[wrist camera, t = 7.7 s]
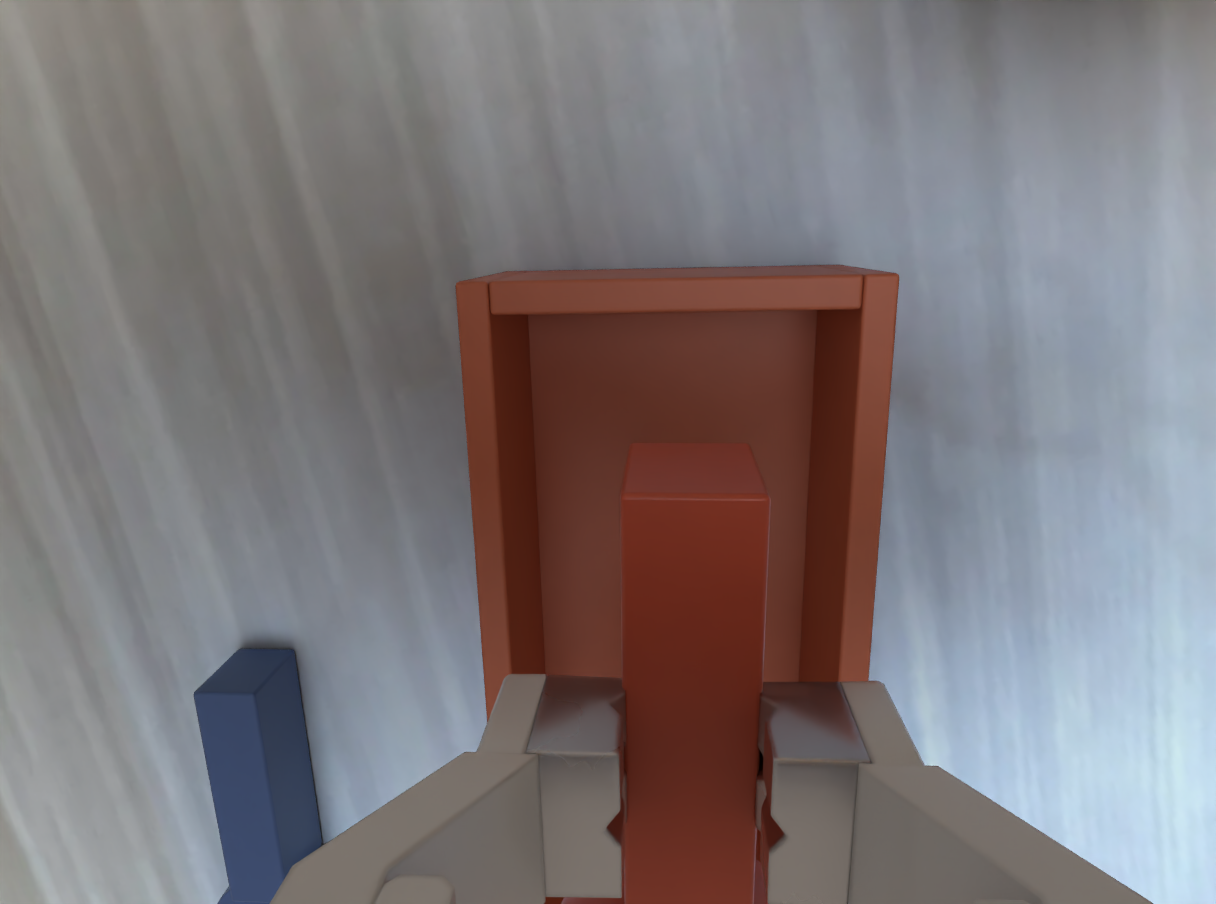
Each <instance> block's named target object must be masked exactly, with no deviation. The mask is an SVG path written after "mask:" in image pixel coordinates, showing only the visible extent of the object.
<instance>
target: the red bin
mask: <svg viewBox="0 0 1216 904" xmlns="http://www.w3.org/2000/svg"><path fill="white" fill-rule="evenodd" d="M898 287H899V275H898V274H896V273H890V272H884V271H877V270H870V269H864V268H857V267H850V266H844V265H802V266H751V267H701V268H651V269H600V270H550V271H506V272H502V273H497V274H492V275H488V276H483V277H478V278H473V279H469V280H464V281H459V282H457V283H456V299H457V313H458V327H459V340H460V354H461V368H462V382H463V395H464V409H465V423H466V437H467V450H468V464H469V478H470V491H471V505H472V519H473V533H474V546H475V560H476V574H477V588H478V601H479V615H480V629H481V643H482V656H483V670H484V684H485V698H486V711H487V723H488V720H489V717H490V715H491V712H492V709H493V707H494V704H495V701H496V699H497V696H498V693H499V691H500V688H501V685H502V683H503V680H504V678H505V677H506V676H507V675H509V674H546V675H547V676H549V675H568V676H591V677H615V678H622V654H621V571H620V493H621V488H622V483H623V477H624V472H625V466H626V461H627V456H628V450H629V447H630V444H633V443H746V444H748V445H749V446H750V448H751V451H752V453H753V456H754V458H755V461H756V464H757V466H758V469H759V471H760V474H761V476H762V479H763V481H764V484H765V486H766V489H767V491H768V494H769V496H770V499H771V506H770V530H769V553H768V577H767V600H766V623H765V647H764V670H763V682H849V681H868V678H869V665H870V652H871V639H872V626H873V613H874V600H875V587H876V574H877V561H878V548H879V535H880V522H881V509H882V496H883V483H884V470H885V457H886V444H887V431H888V418H889V405H890V391H891V378H892V365H893V352H894V339H895V326H896V313H897V300H898ZM760 839H761V832H760V831H759V830H758V829H757V834H756V858H755V859H756V860H758V861H759V862H761V860H760ZM563 899H564V897H545V900H546V902H545V903H544V904H561V903H562V901H563Z"/></svg>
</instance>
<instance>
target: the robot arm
mask: <svg viewBox="0 0 1216 904" xmlns="http://www.w3.org/2000/svg"><path fill="white" fill-rule="evenodd" d="M625 744H626V701H625V690H624V689H623V688H622V678H615V677H591V676H568V675H549V676H547V675H546V674H509V675H507V676H506V677H505V678H504V680H503V683H502V685H501V688H500V691H499V693H498V696H497V699H496V701H495V704H494V707H493V709H492V712H491V715H490V717H489V720H488V723H487V725H486V728H485V731H484V733H483V736H482V739H481V741H480V744H479V747H478V749H477V752H464V753H462V754H461V755H459V756H458V757H456V758H455V759H453V760H452V761H450V762H449V763H447V764H446V765H444V766H443V767H441V768H440V769H438V770H437V771H435V772H434V773H432V774H431V775H429V776H428V777H426V778H425V779H423V780H422V781H420V782H419V783H417V784H415V785H414V786H412V787H411V788H409V789H408V790H406V791H405V792H403V793H402V794H400V795H399V796H397V797H396V798H394V799H393V800H391V801H390V802H388V803H387V804H385V805H384V806H382V807H381V808H379V809H378V810H376V811H375V812H373V813H371V814H370V815H368V816H367V817H365V818H364V819H362V820H361V821H359V822H358V823H356V824H355V825H353V826H352V827H350V828H349V829H347V830H346V831H344V832H343V833H341V834H340V835H338V836H337V837H335V838H334V839H332V840H331V841H329V842H328V843H326V844H324V845H323V846H321V847H320V848H318V849H317V850H315V851H314V852H312V853H311V854H309V855H308V856H306V857H305V858H303V859H302V860H300V861H299V862H297V863H296V864H294V865H293V866H292V867H291V869H290V871H289V872H288V874H287V876H286V877H285V879H284V881H283V882H282V884H281V886H280V887H279V889H278V891H277V892H276V894H275V895H274V897H273V899H272V900H271V902H270V904H544V903H545V902H546V900H545V897H584V898H622V886H623V873H624V859H625V824H626V823H627V772H626V770H625V769H624V746H625ZM757 744H758V747H759V749H760V764H759V772H758V774H757V776H756V801H755V827H756V828H757V829H758V830H759V831H760V832H761V839H760V860H761V866H762V872H763V878H764V884H765V891H766V897H767V903H768V904H1153V903H1152V902H1150V901H1149V900H1147V899H1146V898H1144V897H1142V896H1141V895H1139V894H1138V893H1136V892H1135V891H1133V890H1131V889H1130V888H1128V887H1127V886H1125V885H1124V884H1122V883H1120V882H1119V881H1117V880H1116V879H1114V878H1113V877H1111V876H1109V875H1108V874H1106V873H1105V872H1103V871H1102V870H1100V869H1099V868H1097V867H1095V866H1094V865H1092V864H1091V863H1089V862H1088V861H1086V860H1084V859H1083V858H1081V857H1080V856H1078V855H1077V854H1075V853H1073V852H1072V851H1070V850H1069V849H1067V848H1066V847H1064V846H1062V845H1061V844H1059V843H1058V842H1056V841H1055V840H1053V839H1051V838H1050V837H1048V836H1047V835H1045V834H1044V833H1042V832H1041V831H1039V830H1037V829H1036V828H1034V827H1033V826H1031V825H1030V824H1028V823H1026V822H1025V821H1023V820H1022V819H1020V818H1019V817H1017V816H1015V815H1014V814H1012V813H1011V812H1009V811H1008V810H1006V809H1004V808H1003V807H1001V806H1000V805H998V804H997V803H995V802H993V801H992V800H990V799H989V798H987V797H986V796H984V795H982V794H981V793H979V792H978V791H976V790H975V789H973V788H972V787H970V786H968V785H967V784H965V783H964V782H962V781H961V780H959V779H957V778H956V777H954V776H953V775H951V774H950V773H948V772H946V771H945V770H943V769H942V768H940V767H939V766H925V765H924V763H923V761H922V759H921V757H920V755H919V753H918V751H917V749H916V747H915V745H914V743H913V741H912V739H911V737H910V735H909V733H908V731H907V729H906V727H905V725H904V723H903V721H902V719H901V717H900V715H899V713H898V711H897V709H896V707H895V705H894V703H893V701H892V699H891V697H890V695H889V693H888V691H887V689H886V687H885V685H884V684H882V683H881V682H879V681H849V682H763V691H762V692H761V693H760V695H759V717H758V739H757Z"/></svg>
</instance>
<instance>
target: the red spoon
mask: <svg viewBox="0 0 1216 904" xmlns="http://www.w3.org/2000/svg"><path fill="white" fill-rule="evenodd" d="M770 506H771V499H770V496H769V494H768V491H767V489H766V486H765V484H764V481H763V479H762V476H761V474H760V471H759V469H758V466H757V464H756V461H755V458H754V456H753V453H752V451H751V448H750V446H749V445H748V444H746V443H633V444H630V447H629V450H628V456H627V461H626V466H625V472H624V477H623V483H622V488H621V493H620V571H621V654H622V688H623V689H624V690H625V701H626V744H625V746H624V769H625V770H626V772H627V823H626V824H625V859H624V873H623V886H622V898H584V897H564V899H563V901H562V903H561V904H768V903H767V897H766V891H765V884H764V878H763V872H762V866H761V862H759V861H758V860H756V859H755V858H756V834H757V828H756V827H755V801H756V776H757V774H758V772H759V764H760V749H759V747H758V744H757V739H758V717H759V695H760V693H761V692H762V691H763V670H764V647H765V623H766V600H767V577H768V553H769V530H770Z"/></svg>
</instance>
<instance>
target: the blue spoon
mask: <svg viewBox="0 0 1216 904" xmlns="http://www.w3.org/2000/svg"><path fill="white" fill-rule="evenodd" d="M194 700H195V705H196V710H197V716H198V721H199V726H200V732H201V737H202V742H203V748H204V753H205V759H206V764H207V769H208V775H209V780H210V785H211V791H212V796H213V801H214V807H215V812H216V817H217V823H218V828H219V833H220V839H221V844H222V849H223V855H224V860H225V865H226V871H227V876H228V882H229V887H228V888H227V890H226V891H225V893H224V894H223V896H222V897H221V899H220V900H219V902H218V904H270V902H271V900H272V899H273V897H274V895H275V894H276V892H277V891H278V889H279V887H280V886H281V884H282V882H283V881H284V879H285V877H286V876H287V874H288V872H289V871H290V869H291V867H292V866H293V865H294V864H296V863H297V862H299V861H300V860H302V859H303V858H305V857H306V856H308V855H309V854H311V853H312V852H314V851H315V850H317V849H318V848H320V847H321V846H323V845H321V844H322V839H321V832H320V825H319V818H318V811H317V804H316V797H315V790H314V783H313V777H312V770H311V763H310V756H309V749H308V742H307V735H306V728H305V721H304V714H303V708H302V701H301V694H300V687H299V680H298V673H297V666H296V659H295V652H294V650H288V649H239V650H237V651H236V652H235V653H234V654H233V655H232V656H231V657H230V658H229V659H228V660H227V661H226V662H225V663H224V664H223V665H222V666H221V667H220V668H219V669H218V670H217V671H216V672H215V673H214V674H213V675H212V676H211V677H210V678H209V679H208V680H206V681H205V682H204V683H203V684H202V685H201V686H200V687H199V688H198V689H197V690H196V691H195V692H194Z"/></svg>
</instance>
